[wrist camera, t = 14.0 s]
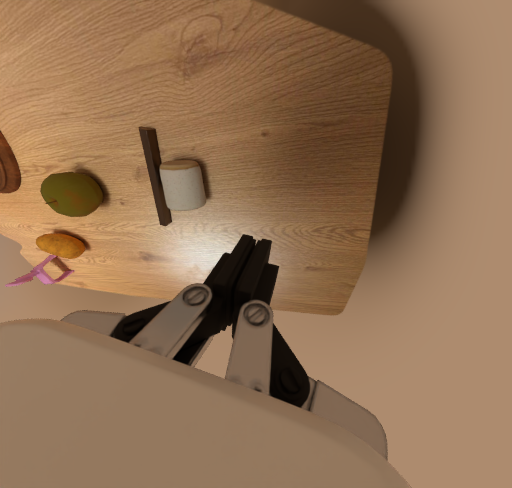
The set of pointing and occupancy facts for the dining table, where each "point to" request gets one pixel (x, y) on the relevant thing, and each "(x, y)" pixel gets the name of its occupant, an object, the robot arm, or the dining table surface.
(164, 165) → the ceramic mug
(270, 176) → the dining table surface
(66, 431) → the robot arm
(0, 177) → the cutting board
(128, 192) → the dining table surface
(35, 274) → the toy chair
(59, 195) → the apple
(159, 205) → the back rail
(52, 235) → the potato
